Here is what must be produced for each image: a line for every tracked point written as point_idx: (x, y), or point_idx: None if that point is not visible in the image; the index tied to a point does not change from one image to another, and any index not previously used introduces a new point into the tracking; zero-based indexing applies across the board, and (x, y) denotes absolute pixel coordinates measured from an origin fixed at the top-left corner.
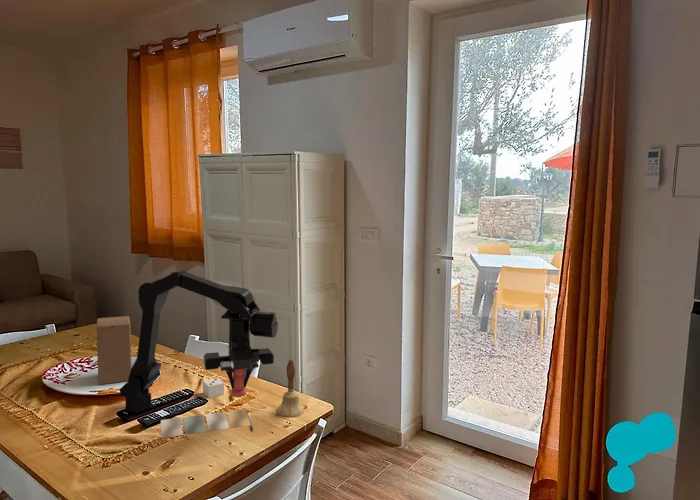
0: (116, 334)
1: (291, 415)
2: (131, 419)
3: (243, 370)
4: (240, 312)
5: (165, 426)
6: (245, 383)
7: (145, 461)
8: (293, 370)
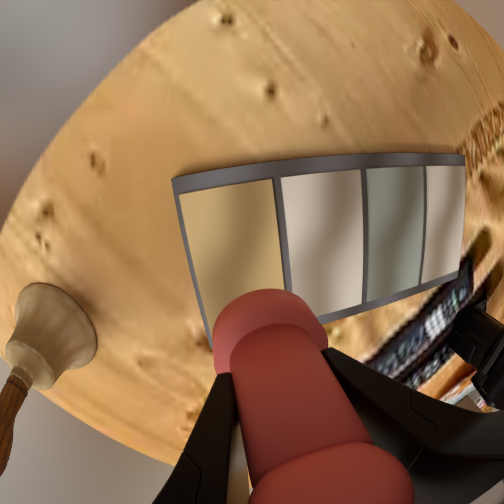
0: None
1: (38, 286)
2: (479, 290)
3: None
4: None
5: (456, 231)
6: (221, 395)
7: (465, 86)
8: None
